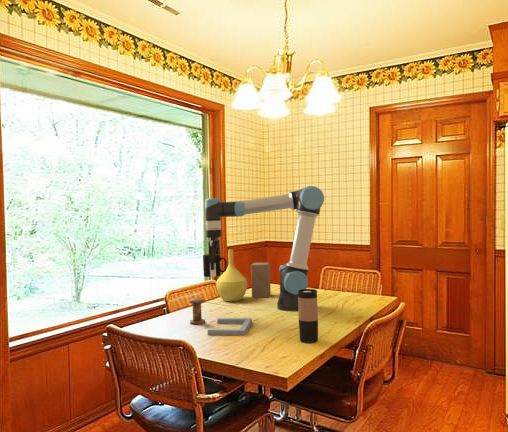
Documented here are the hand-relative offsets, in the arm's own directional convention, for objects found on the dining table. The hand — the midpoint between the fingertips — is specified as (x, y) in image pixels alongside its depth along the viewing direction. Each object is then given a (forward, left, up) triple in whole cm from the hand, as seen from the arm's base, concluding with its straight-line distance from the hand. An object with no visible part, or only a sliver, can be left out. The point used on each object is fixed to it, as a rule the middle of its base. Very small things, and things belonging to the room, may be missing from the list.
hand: (215, 274), depth 208 cm
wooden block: (-16, -51, -21) cm, 58 cm away
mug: (0, 0, -1) cm, 1 cm away
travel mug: (-46, +35, -21) cm, 62 cm away
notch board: (-11, +19, -21) cm, 30 cm away
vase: (0, -40, -21) cm, 45 cm away
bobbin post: (+7, +10, -21) cm, 24 cm away
